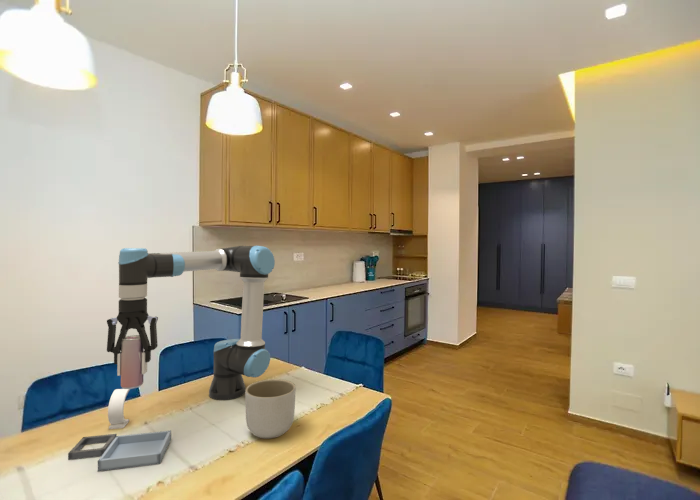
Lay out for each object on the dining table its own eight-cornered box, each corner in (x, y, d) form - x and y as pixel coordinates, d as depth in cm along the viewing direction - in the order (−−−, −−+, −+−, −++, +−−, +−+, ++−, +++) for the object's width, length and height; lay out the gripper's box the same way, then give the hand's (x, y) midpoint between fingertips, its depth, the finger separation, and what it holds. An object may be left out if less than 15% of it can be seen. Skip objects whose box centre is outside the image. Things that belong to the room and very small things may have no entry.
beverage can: (127, 382, 113) (128, 334, 113) (147, 382, 114) (147, 334, 114) (116, 389, 107) (116, 339, 107) (137, 389, 108) (137, 339, 108)
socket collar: (116, 439, 118) (116, 433, 118) (104, 455, 109) (104, 449, 109) (83, 443, 116) (83, 437, 116) (68, 460, 107) (68, 453, 107)
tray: (171, 439, 119) (171, 430, 119) (160, 463, 105) (160, 453, 105) (116, 445, 115) (116, 435, 115) (97, 471, 101) (97, 461, 101)
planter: (250, 449, 113) (251, 401, 113) (240, 426, 129) (241, 383, 129) (301, 437, 121) (302, 392, 121) (286, 416, 136) (287, 376, 136)
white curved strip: (129, 421, 131) (129, 388, 131) (122, 429, 125) (122, 395, 125) (115, 422, 130) (115, 389, 130) (107, 430, 124) (107, 395, 124)
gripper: (169, 296, 116) (169, 367, 116) (103, 297, 112) (103, 371, 112) (163, 299, 109) (162, 375, 109) (92, 300, 105) (91, 380, 105)
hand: (132, 373), depth 110 cm, fingers closed on beverage can, 6 cm apart
